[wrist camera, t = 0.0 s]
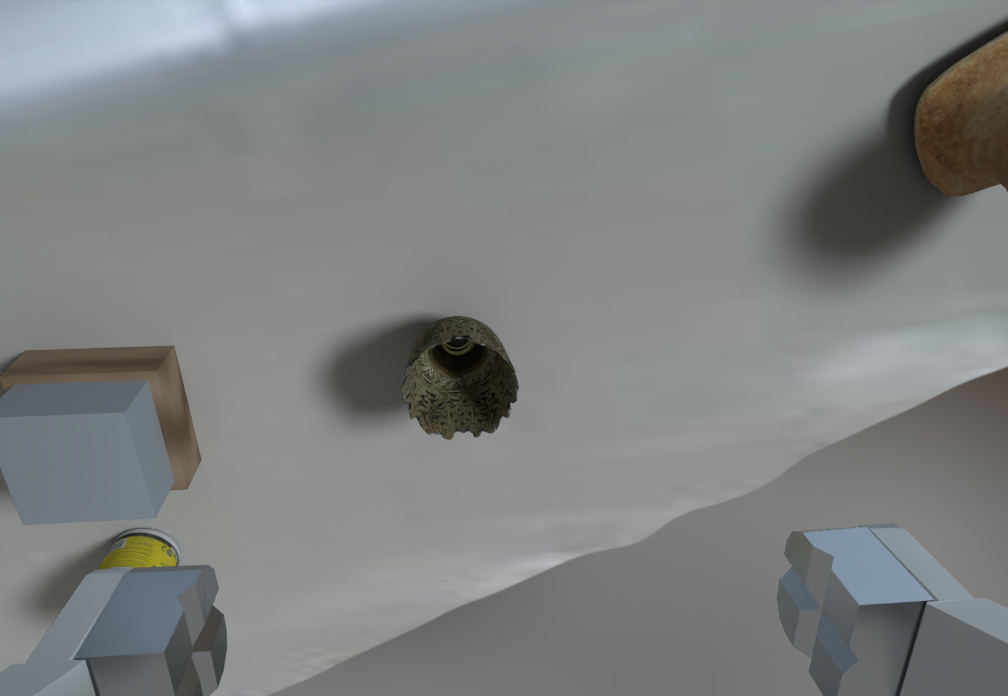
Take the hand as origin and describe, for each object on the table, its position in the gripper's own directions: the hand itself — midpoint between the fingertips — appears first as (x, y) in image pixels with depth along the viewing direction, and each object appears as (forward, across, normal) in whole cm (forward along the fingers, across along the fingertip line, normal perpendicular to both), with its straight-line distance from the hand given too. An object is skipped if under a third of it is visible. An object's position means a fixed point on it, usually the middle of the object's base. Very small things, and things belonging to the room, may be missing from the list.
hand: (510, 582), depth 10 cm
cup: (+40, 0, +12) cm, 42 cm away
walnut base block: (+41, +25, +17) cm, 51 cm away
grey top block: (+37, +25, +17) cm, 48 cm away
